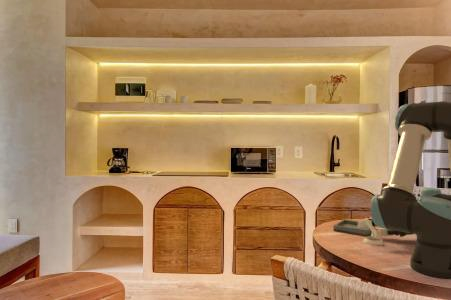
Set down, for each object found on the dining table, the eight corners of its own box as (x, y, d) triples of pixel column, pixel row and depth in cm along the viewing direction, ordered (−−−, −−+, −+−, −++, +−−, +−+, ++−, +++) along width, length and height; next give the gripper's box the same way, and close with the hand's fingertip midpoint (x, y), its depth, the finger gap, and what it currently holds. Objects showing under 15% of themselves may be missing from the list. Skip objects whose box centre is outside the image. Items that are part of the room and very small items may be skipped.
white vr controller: (352, 225, 149) (366, 217, 148) (369, 250, 145) (383, 242, 144) (352, 225, 142) (367, 217, 141) (370, 252, 138) (386, 243, 137)
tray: (367, 235, 152) (367, 230, 152) (333, 230, 160) (333, 225, 160) (375, 228, 164) (375, 223, 164) (343, 224, 173) (343, 219, 173)
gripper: (435, 242, 135) (389, 246, 130) (390, 226, 159) (350, 229, 154) (435, 223, 134) (389, 226, 129) (390, 210, 159) (350, 213, 154)
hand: (368, 228), depth 142 cm, fingers open, 13 cm apart
